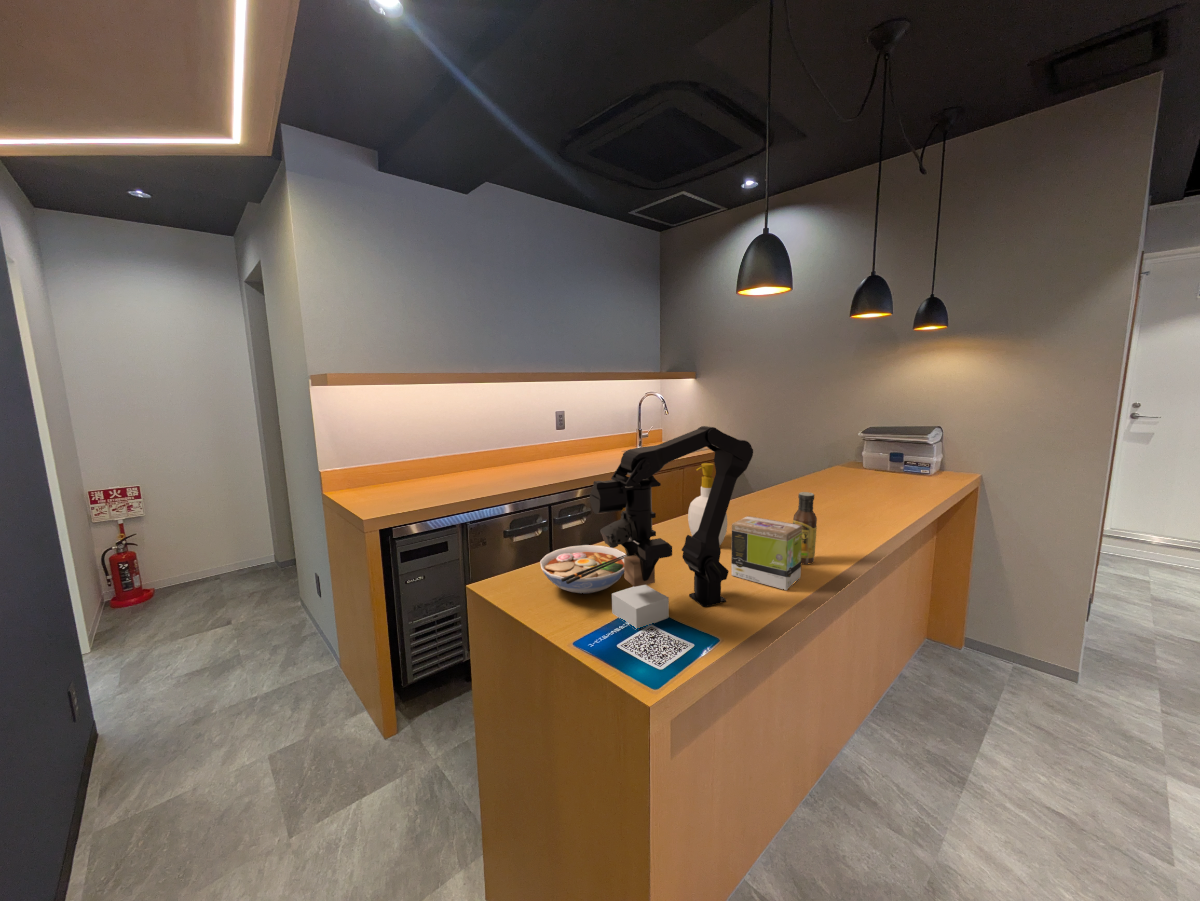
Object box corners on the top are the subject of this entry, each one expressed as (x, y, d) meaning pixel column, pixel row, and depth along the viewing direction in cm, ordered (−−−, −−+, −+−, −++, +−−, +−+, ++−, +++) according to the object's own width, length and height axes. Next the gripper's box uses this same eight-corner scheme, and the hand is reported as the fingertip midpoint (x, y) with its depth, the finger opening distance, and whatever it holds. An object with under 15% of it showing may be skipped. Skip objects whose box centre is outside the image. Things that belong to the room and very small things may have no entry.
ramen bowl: (590, 562, 137) (589, 535, 136) (651, 585, 121) (651, 554, 120) (519, 590, 120) (517, 559, 118) (579, 621, 103) (578, 585, 102)
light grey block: (668, 618, 104) (668, 597, 103) (636, 631, 99) (636, 608, 98) (643, 603, 111) (643, 583, 111) (612, 614, 107) (611, 593, 106)
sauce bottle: (785, 559, 135) (788, 492, 132) (800, 555, 138) (803, 489, 135) (805, 567, 129) (807, 497, 126) (820, 562, 132) (823, 493, 129)
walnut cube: (654, 582, 103) (654, 560, 102) (634, 586, 101) (633, 564, 100) (644, 574, 107) (643, 553, 107) (624, 578, 105) (624, 557, 105)
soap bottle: (679, 541, 153) (679, 462, 149) (698, 535, 158) (698, 459, 154) (714, 553, 141) (715, 468, 137) (733, 546, 146) (734, 464, 143)
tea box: (801, 579, 122) (803, 524, 120) (786, 592, 115) (788, 534, 113) (747, 564, 132) (748, 514, 130) (729, 576, 125) (730, 522, 123)
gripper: (588, 502, 107) (590, 567, 110) (623, 524, 90) (625, 600, 92) (632, 496, 111) (633, 559, 114) (673, 516, 94) (673, 589, 97)
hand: (639, 575), depth 104 cm, fingers closed on walnut cube, 5 cm apart
